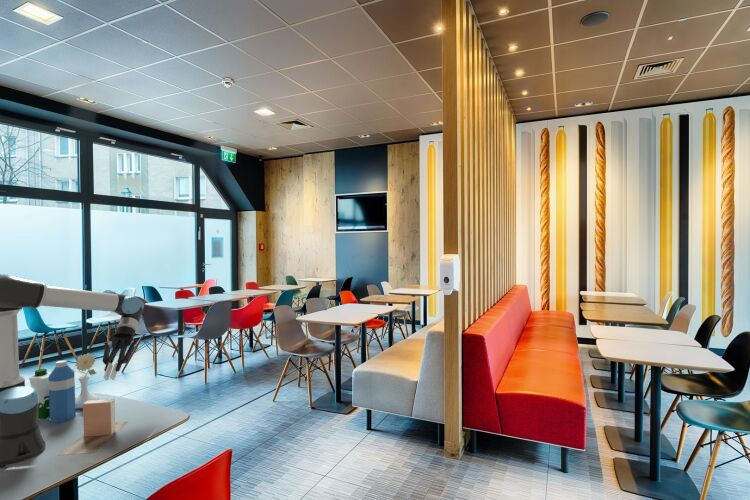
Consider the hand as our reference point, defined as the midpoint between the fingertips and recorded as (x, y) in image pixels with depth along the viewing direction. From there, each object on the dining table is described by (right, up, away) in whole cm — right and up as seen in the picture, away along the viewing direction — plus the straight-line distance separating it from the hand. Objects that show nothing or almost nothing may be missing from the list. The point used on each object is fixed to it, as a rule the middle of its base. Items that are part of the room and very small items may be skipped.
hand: (108, 378), depth 166 cm
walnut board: (+2, -20, -10) cm, 23 cm away
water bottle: (-26, -20, +8) cm, 34 cm away
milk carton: (-36, -20, +12) cm, 43 cm away
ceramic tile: (+1, -19, -8) cm, 21 cm away
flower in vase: (-25, -20, +22) cm, 39 cm away
